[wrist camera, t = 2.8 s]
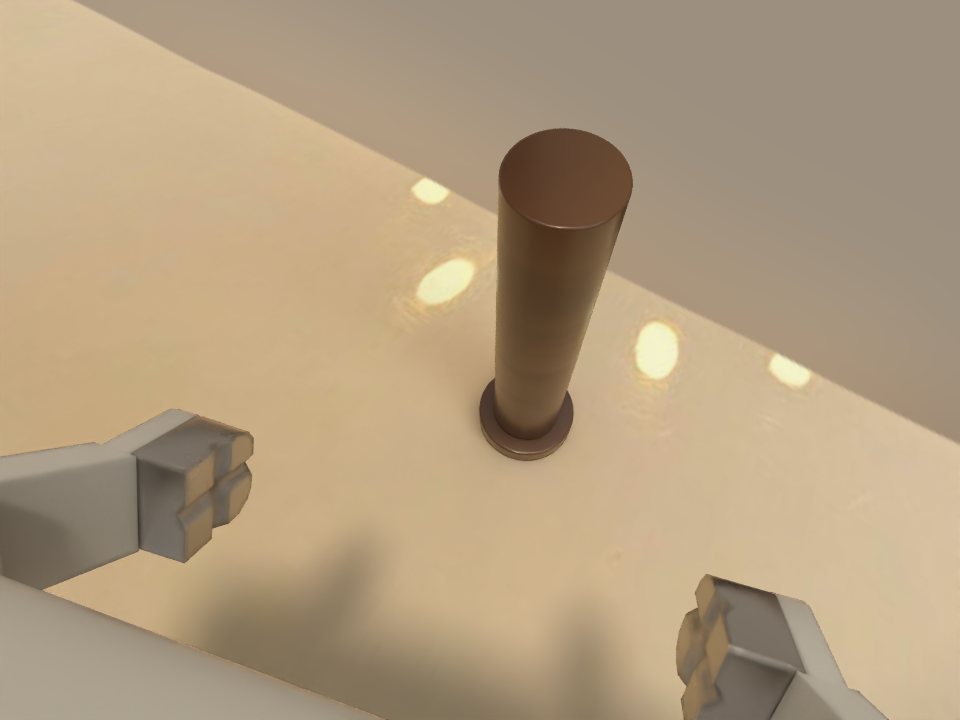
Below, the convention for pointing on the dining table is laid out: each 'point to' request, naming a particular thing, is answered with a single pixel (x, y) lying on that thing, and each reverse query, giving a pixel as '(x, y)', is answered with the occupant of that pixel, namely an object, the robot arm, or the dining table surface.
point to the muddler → (548, 280)
